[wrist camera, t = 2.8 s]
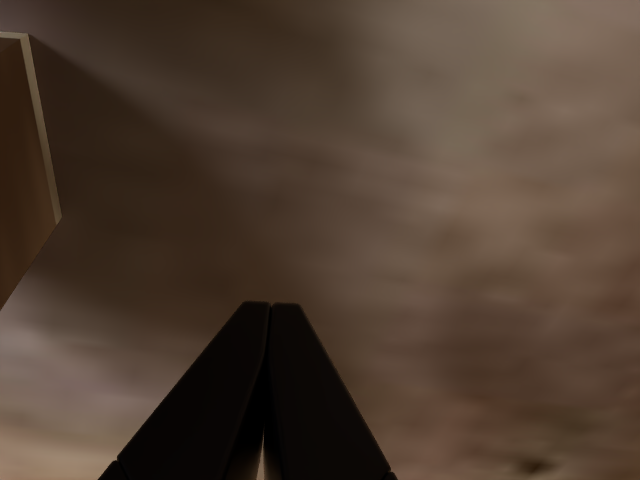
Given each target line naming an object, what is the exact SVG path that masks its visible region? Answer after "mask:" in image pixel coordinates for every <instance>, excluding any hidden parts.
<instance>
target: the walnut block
mask: <svg viewBox="0 0 640 480" xmlns="http://www.w3.org/2000/svg"><path fill="white" fill-rule="evenodd" d="M61 218H62V214H61V208H60V203H59V198H58V192H57V187H56V182H55V176H54V171H53V165H52V160H51V155H50V149H49V144H48V139H47V133H46V128H45V123H44V117H43V112H42V106H41V101H40V96H39V90H38V85H37V80H36V74H35V69H34V63H33V58H32V53H31V47H30V42H29V37H28V33H16V32H3V31H0V310H1V309H2V307H3V306H4V304H5V303H6V301H7V300H8V298H9V297H10V295H11V294H12V292H13V291H14V289H15V288H16V286H17V285H18V283H19V282H20V280H21V279H22V277H23V276H24V274H25V273H26V271H27V269H28V268H29V266H30V265H31V263H32V262H33V260H34V259H35V257H36V256H37V254H38V253H39V251H40V250H41V248H42V247H43V245H44V244H45V242H46V241H47V239H48V238H49V236H50V235H51V233H52V232H53V230H54V229H55V227H56V226H57V224H58V223H59V221H60V220H61Z"/></svg>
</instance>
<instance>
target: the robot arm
mask: <svg viewBox="0 0 640 480" xmlns="http://www.w3.org/2000/svg"><path fill="white" fill-rule="evenodd" d="M263 434H264V443H263ZM262 443H263V459H264V480H398V479H397V477H396V476H395V474H394V473H393V472H390V471H391V467H390V465H389V463H388V462H387V460H386V458H385V456H384V454H383V453H382V451H381V449H380V447H379V446H378V444H377V442H376V440H375V438H374V437H373V435H372V433H371V431H370V429H369V428H368V426H367V424H366V422H365V420H364V419H363V417H362V415H361V413H360V411H359V410H358V408H357V406H356V404H355V402H354V401H353V399H352V397H351V395H350V393H349V392H348V390H347V388H346V386H345V384H344V383H343V381H342V379H341V377H340V375H339V374H338V372H337V370H336V368H335V366H334V365H333V363H332V361H331V359H330V357H329V356H328V354H327V352H326V350H325V348H324V347H323V345H322V343H321V341H320V339H319V338H318V336H317V334H316V332H315V330H314V329H313V327H312V325H311V323H310V321H309V320H308V318H307V316H306V314H305V313H304V311H303V309H302V307H301V306H300V305H299V304H296V303H280V302H276V303H274V304H273V305H272V309H271V304H270V303H269V302H261V301H245V302H243V303H242V304H241V305H240V306H239V308H238V309H237V310H236V311H235V312H234V314H233V315H232V316H231V317H230V319H229V320H228V321H227V322H226V324H225V325H224V326H223V327H222V328H221V330H220V331H219V332H218V333H217V335H216V336H215V337H214V338H213V339H212V341H211V342H210V343H209V344H208V346H207V347H206V348H205V349H204V350H203V352H202V353H201V354H200V355H199V357H198V358H197V359H196V360H195V361H194V363H193V364H192V365H191V366H190V368H189V369H188V370H187V371H186V372H185V374H184V375H183V376H182V377H181V379H180V380H179V381H178V382H177V384H176V385H175V386H174V387H173V388H172V390H171V391H170V392H169V393H168V395H167V396H166V397H165V398H164V399H163V401H162V402H161V403H160V404H159V406H158V407H157V408H156V409H155V410H154V412H153V413H152V414H151V415H150V417H149V418H148V419H147V420H146V421H145V423H144V424H143V425H142V426H141V428H140V429H139V430H138V431H137V432H136V434H135V435H134V436H133V437H132V439H131V440H130V441H129V442H128V444H127V445H126V446H125V447H124V448H123V450H122V451H121V452H120V453H119V455H118V456H117V460H115V461H113V462H112V463H111V464H110V465H109V466H108V468H107V469H106V470H105V471H104V473H103V474H102V475H101V476H100V477H99V479H98V480H256V478H257V473H258V468H259V463H260V457H261V451H262Z"/></svg>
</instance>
